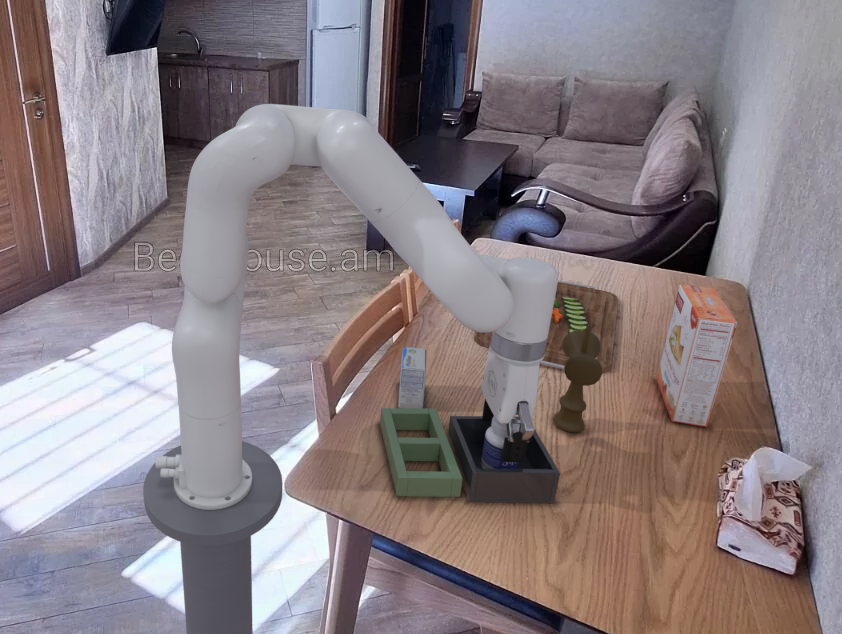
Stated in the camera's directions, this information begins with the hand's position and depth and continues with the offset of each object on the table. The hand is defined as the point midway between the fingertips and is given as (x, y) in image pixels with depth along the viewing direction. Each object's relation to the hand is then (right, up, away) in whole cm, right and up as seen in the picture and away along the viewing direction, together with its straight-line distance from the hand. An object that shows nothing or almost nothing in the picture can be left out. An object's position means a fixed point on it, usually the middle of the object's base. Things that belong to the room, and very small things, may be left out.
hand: (502, 439), depth 100 cm
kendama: (+16, -1, +13) cm, 21 cm away
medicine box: (-9, +2, +21) cm, 23 cm away
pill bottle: (0, -5, +2) cm, 6 cm away
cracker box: (+39, +1, +19) cm, 44 cm away
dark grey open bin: (0, -6, +2) cm, 6 cm away
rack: (-12, -5, +5) cm, 14 cm away
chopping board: (+29, +13, +50) cm, 59 cm away
